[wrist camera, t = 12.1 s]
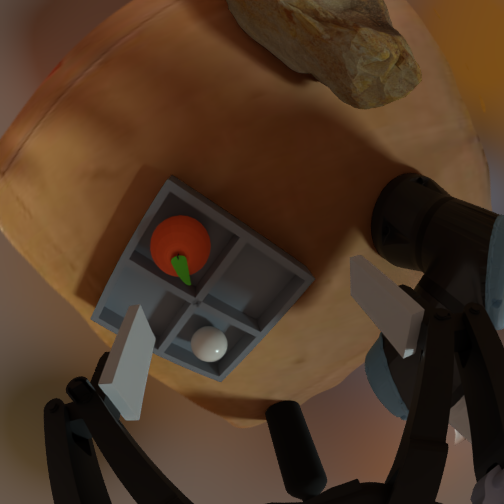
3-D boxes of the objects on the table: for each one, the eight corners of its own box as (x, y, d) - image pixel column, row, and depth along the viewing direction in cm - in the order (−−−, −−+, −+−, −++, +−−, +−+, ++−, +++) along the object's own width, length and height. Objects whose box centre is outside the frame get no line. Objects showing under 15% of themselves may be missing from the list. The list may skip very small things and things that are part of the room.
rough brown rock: (394, 73, 31) (468, 54, 17) (326, 129, 32) (404, 115, 18) (295, -35, 23) (336, -89, 9) (206, 4, 24) (219, -69, 10)
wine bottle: (297, 396, 51) (346, 522, 24) (301, 413, 54) (344, 526, 27) (262, 406, 51) (298, 537, 23) (268, 423, 54) (302, 539, 26)
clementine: (218, 261, 36) (222, 288, 30) (167, 275, 36) (161, 303, 29) (201, 202, 33) (201, 217, 26) (148, 218, 32) (134, 236, 26)
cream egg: (232, 328, 40) (236, 351, 36) (213, 350, 42) (215, 373, 37) (202, 313, 39) (203, 336, 34) (184, 336, 40) (183, 360, 35)
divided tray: (305, 265, 40) (315, 278, 36) (218, 365, 44) (220, 382, 41) (171, 174, 32) (167, 178, 28) (98, 303, 37) (90, 319, 33)
